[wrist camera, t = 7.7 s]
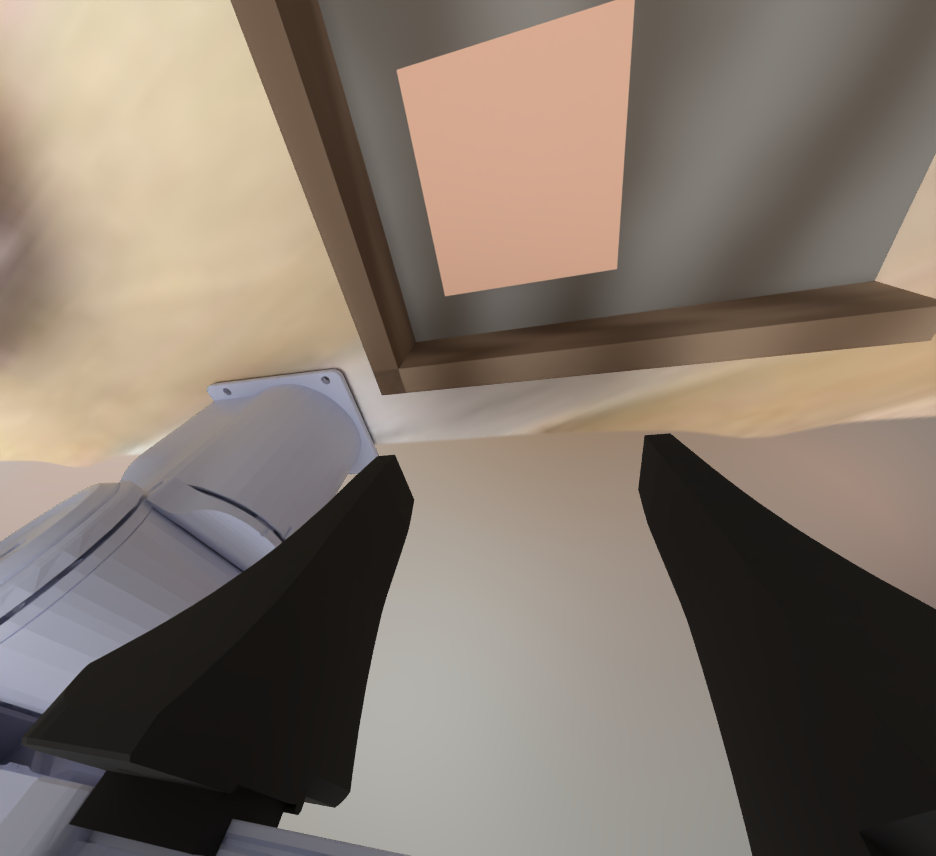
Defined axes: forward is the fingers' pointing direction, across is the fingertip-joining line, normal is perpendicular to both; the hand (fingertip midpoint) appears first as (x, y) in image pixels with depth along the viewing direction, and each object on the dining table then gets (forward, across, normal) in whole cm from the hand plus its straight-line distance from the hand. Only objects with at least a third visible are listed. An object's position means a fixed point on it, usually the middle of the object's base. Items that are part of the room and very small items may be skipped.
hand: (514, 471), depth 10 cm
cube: (+8, -1, -7) cm, 11 cm away
